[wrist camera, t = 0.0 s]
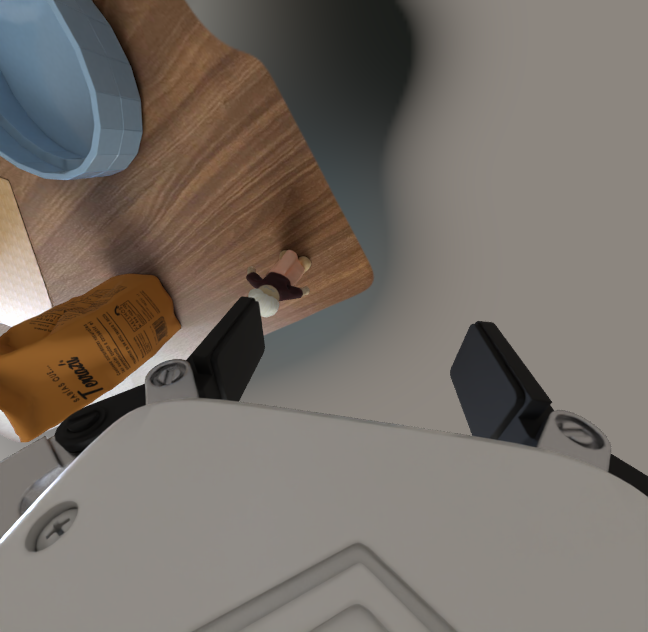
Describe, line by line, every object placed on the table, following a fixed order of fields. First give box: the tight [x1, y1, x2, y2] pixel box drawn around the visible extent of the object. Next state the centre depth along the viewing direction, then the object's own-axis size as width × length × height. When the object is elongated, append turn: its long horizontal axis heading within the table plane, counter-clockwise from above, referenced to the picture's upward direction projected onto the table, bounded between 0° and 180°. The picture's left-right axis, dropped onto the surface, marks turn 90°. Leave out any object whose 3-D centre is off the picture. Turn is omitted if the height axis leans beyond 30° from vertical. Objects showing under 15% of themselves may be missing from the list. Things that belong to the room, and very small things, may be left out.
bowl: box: [0, 0, 143, 180], centre depth 24 cm, size 17×17×6 cm
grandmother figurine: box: [246, 250, 311, 317], centre depth 29 cm, size 8×4×13 cm, turn 82°
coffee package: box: [0, 274, 181, 442], centre depth 34 cm, size 10×12×22 cm
